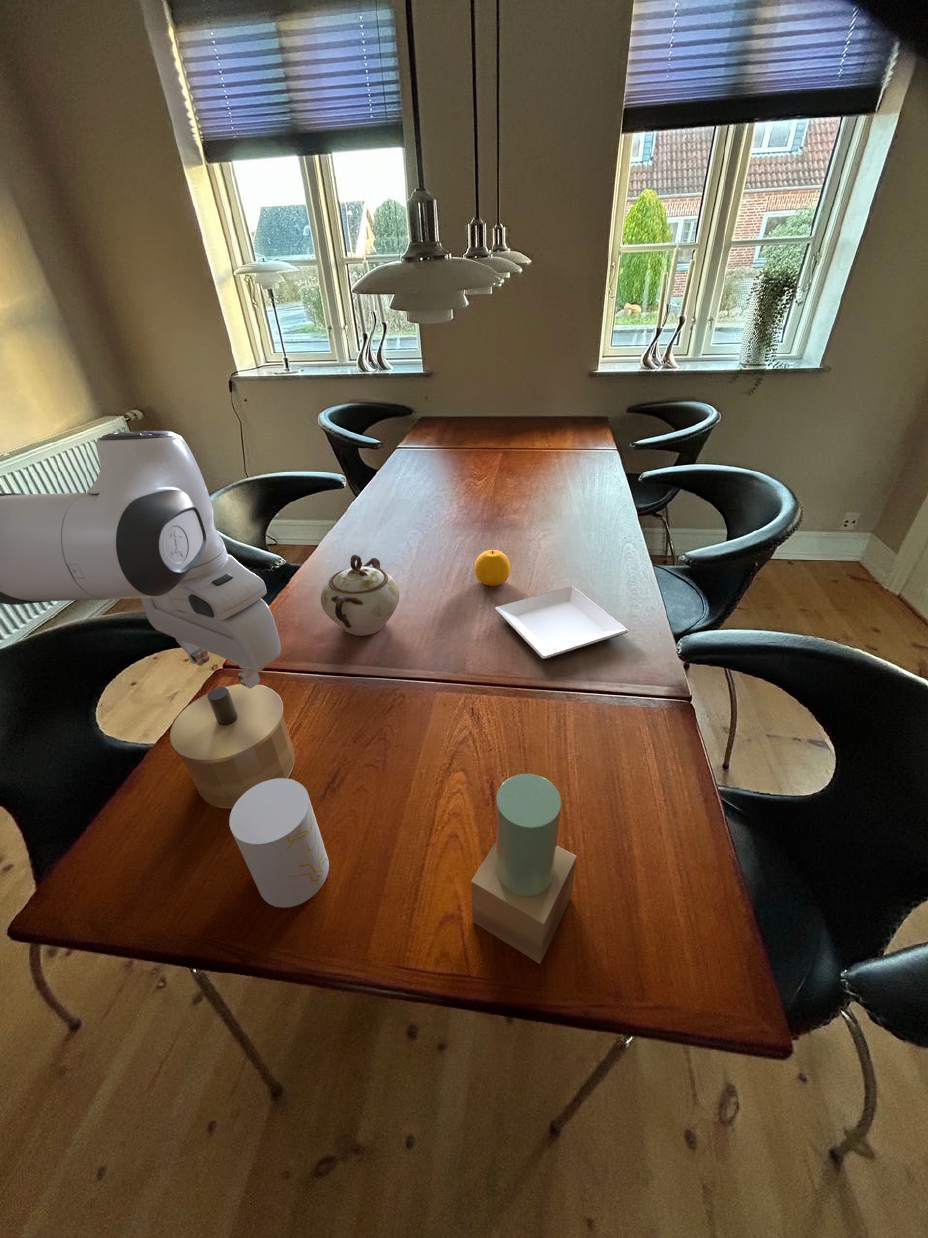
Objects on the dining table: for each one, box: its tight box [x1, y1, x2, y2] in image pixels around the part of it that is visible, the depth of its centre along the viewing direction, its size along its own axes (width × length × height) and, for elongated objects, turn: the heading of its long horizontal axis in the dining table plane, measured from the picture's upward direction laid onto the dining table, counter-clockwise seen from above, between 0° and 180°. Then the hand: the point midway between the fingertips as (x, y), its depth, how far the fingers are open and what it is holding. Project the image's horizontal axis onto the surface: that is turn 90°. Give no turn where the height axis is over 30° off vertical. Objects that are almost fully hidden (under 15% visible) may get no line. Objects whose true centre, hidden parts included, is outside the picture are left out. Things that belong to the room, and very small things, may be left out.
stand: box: [470, 842, 578, 965], centre depth 56 cm, size 8×8×8 cm
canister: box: [495, 773, 562, 897], centre depth 51 cm, size 6×6×11 cm
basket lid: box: [169, 683, 285, 763], centre depth 70 cm, size 14×14×6 cm
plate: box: [494, 585, 630, 660], centre depth 103 cm, size 19×19×2 cm
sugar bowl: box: [320, 554, 400, 637], centre depth 102 cm, size 20×15×15 cm
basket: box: [181, 715, 296, 810], centre depth 73 cm, size 13×13×10 cm
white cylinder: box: [229, 778, 330, 909], centre depth 59 cm, size 8×8×12 cm
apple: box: [473, 549, 511, 587], centre depth 116 cm, size 8×8×8 cm
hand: (225, 672), depth 67 cm, fingers open, 8 cm apart
